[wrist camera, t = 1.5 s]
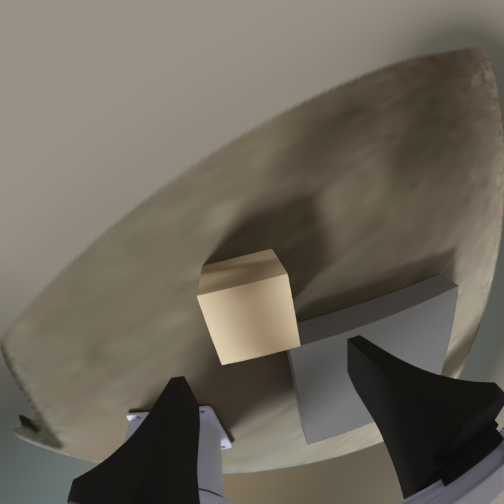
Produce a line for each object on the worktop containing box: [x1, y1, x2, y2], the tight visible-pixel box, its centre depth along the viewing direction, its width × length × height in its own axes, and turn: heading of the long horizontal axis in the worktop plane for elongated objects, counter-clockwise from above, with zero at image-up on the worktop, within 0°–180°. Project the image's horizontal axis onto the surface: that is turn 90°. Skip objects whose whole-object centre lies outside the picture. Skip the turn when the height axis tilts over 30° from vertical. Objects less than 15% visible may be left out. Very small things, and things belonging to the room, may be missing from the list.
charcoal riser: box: [286, 274, 458, 445], centre depth 22 cm, size 16×14×3 cm
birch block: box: [197, 249, 300, 365], centre depth 18 cm, size 5×5×5 cm
